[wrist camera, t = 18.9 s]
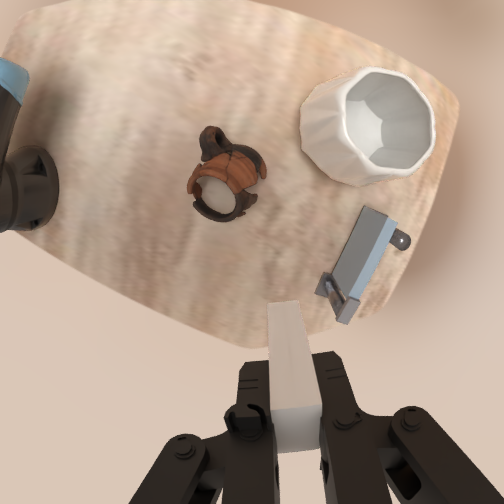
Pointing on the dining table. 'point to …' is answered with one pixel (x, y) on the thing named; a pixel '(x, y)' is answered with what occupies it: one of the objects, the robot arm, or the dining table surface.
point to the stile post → (399, 238)
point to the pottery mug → (226, 172)
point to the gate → (361, 258)
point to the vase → (367, 126)
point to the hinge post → (330, 291)
